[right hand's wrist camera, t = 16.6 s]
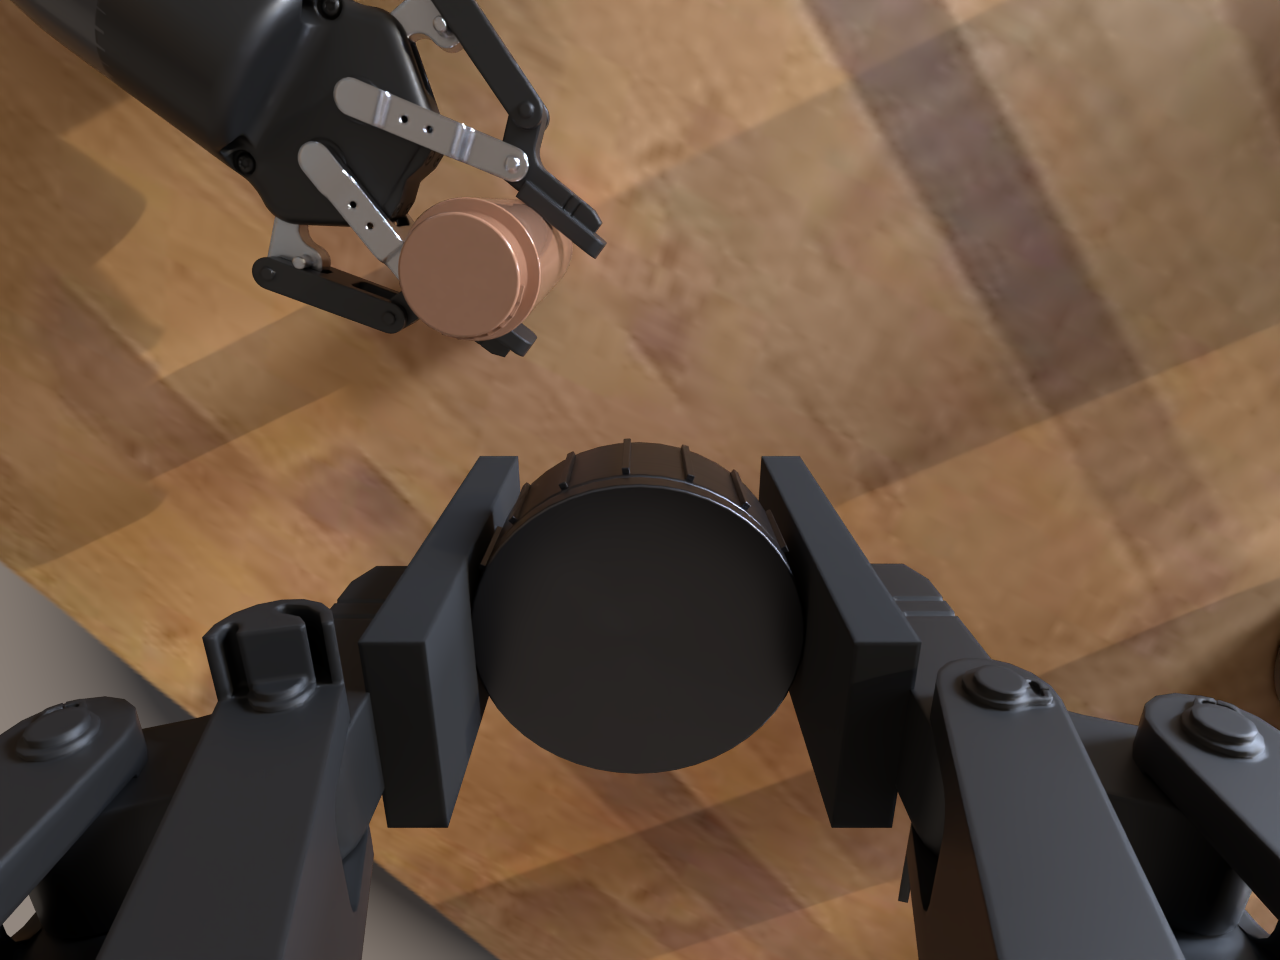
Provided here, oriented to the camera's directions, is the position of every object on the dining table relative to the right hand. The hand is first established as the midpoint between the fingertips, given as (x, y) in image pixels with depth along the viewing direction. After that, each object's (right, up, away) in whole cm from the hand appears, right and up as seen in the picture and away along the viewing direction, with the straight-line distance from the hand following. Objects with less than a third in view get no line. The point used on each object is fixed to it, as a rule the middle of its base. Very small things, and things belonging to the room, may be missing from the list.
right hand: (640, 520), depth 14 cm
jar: (-5, +12, +20) cm, 24 cm away
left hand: (-3, +8, +15) cm, 17 cm away
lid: (0, -1, -4) cm, 4 cm away
